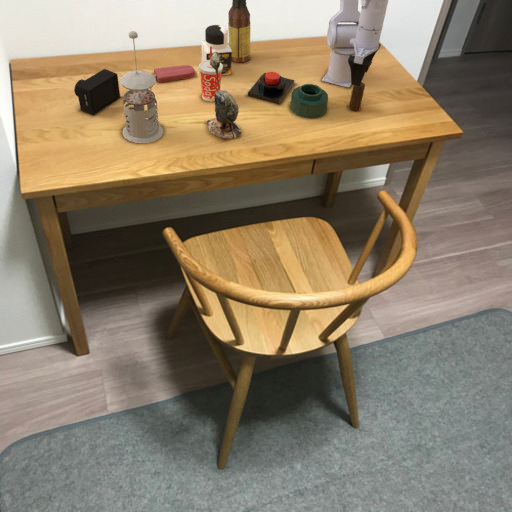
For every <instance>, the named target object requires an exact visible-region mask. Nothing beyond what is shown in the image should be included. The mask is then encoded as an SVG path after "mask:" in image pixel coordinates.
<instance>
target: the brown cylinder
mask: <svg viewBox="0 0 512 512" xmlns="http://www.w3.org/2000/svg"><path fill="white" fill-rule="evenodd" d="M365 88H366V84H365V83H364V82H363V81H362V82H361V84H360V86H355V85H352V88H351V93H350V98H349V103H348V109H349V110H350V111H352V112H358V111H360V110H361V106H362V102H363V98H364V92H365Z"/></svg>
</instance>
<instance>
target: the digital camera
mask: <svg viewBox="0 0 512 512" xmlns="http://www.w3.org/2000/svg"><path fill="white" fill-rule="evenodd" d="M119 83H120V82H119V76H118V73H117V72H114V71H111V70H108V69H106V68H103V69H101V70H100V71H98V72H96V73H95V74H92V75H91V76H90V77H88V78H86V79H82V78H81V79H79V80H78V81H77V82H76V83H75V85H74V90H73V91H74V95H75V96H76V97H77V98H78V103H79V108H80V111H82V112H83V113H86V114H89V115H91V116H95V115H97V114H98V113H100V112H101V111H103V110H104V109H106V108H107V107H108V106H110V105H112V104H113V103H114V102H115V103H116V102H117V101H118V100H119V99H121V92H120V84H119Z"/></svg>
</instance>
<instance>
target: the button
mask: <svg viewBox="0 0 512 512" xmlns="http://www.w3.org/2000/svg"><path fill="white" fill-rule="evenodd" d="M265 73H266V74H265V82H266V83H267V84H271V85H276V84H279V82H280V76H281V75H280V73H278V72H277V71H267V72H265Z"/></svg>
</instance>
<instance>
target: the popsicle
mask: <svg viewBox="0 0 512 512" xmlns="http://www.w3.org/2000/svg"><path fill="white" fill-rule="evenodd" d="M153 75H154V77H155V78H156V81H157V82H158V83H167V82H172V81H178V80H179V81H180V80H185V79H191V78H192V77H194V76H195V68H194V67H193V66H191V65H189V64H182V65H171V66H164V67H156V68H153Z"/></svg>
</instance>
